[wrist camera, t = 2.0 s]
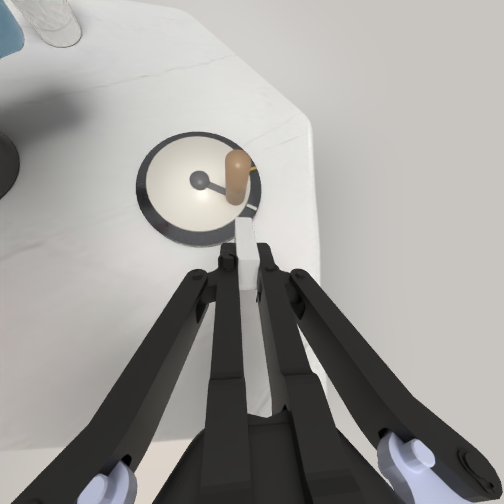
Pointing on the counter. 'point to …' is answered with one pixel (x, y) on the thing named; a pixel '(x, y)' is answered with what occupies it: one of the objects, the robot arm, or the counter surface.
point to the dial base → (187, 236)
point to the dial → (199, 183)
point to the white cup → (51, 20)
